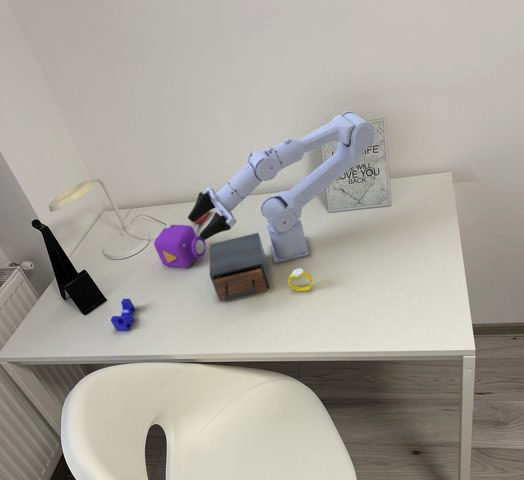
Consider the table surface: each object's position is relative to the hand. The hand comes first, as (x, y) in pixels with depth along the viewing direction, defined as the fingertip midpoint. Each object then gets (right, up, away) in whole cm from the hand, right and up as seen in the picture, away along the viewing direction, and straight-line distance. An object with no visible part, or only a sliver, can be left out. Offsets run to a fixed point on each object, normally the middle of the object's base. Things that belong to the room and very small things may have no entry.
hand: (196, 228), depth 137 cm
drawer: (+12, -14, +6) cm, 20 cm away
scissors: (-4, +6, +35) cm, 36 cm away
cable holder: (-19, -23, +9) cm, 31 cm away
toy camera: (-5, -6, +23) cm, 24 cm away
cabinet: (+11, -12, +10) cm, 20 cm away
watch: (+27, -15, +2) cm, 31 cm away
